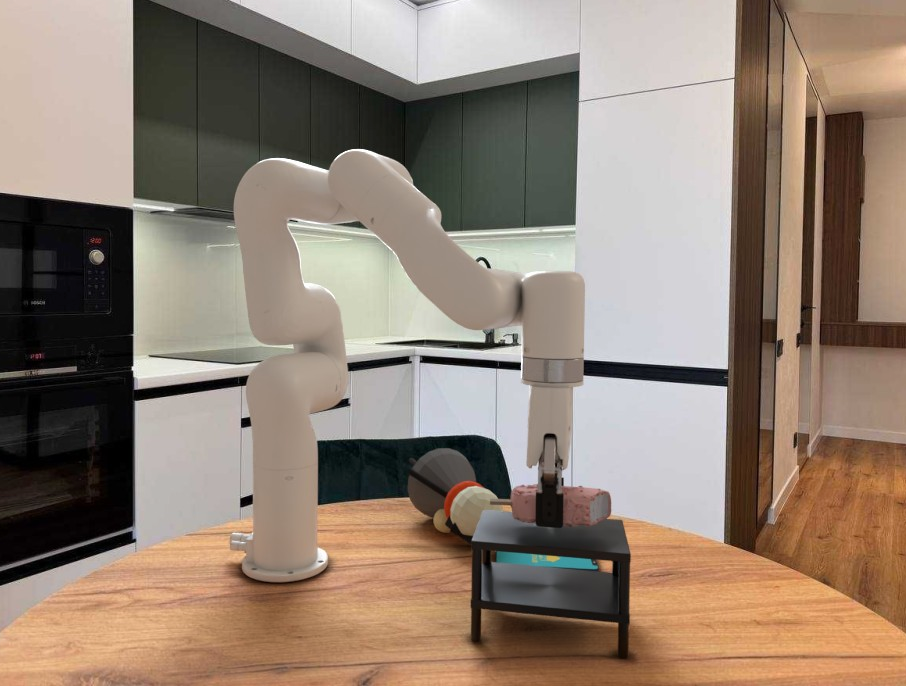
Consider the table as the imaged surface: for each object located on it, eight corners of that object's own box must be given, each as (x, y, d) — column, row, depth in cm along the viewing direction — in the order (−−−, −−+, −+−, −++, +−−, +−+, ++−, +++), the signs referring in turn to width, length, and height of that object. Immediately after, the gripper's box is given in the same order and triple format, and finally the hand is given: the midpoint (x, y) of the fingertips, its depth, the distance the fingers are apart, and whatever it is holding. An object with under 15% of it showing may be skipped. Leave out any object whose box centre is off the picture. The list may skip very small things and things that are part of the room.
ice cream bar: (491, 479, 90) (608, 483, 87) (491, 512, 90) (608, 516, 87) (488, 491, 83) (614, 496, 81) (488, 527, 83) (614, 532, 81)
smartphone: (496, 545, 110) (593, 550, 108) (496, 550, 110) (593, 555, 108) (495, 564, 103) (599, 569, 101) (495, 569, 103) (599, 575, 101)
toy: (367, 476, 132) (422, 538, 104) (401, 416, 134) (464, 462, 106) (438, 512, 138) (509, 580, 110) (470, 455, 140) (547, 507, 112)
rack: (470, 641, 82) (471, 540, 81) (482, 597, 94) (483, 509, 93) (629, 659, 78) (630, 554, 78) (620, 611, 90) (622, 519, 89)
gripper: (525, 363, 94) (523, 494, 95) (516, 379, 77) (513, 538, 78) (582, 365, 93) (579, 498, 93) (585, 381, 76) (582, 544, 76)
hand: (549, 515), depth 85 cm, fingers closed on ice cream bar, 6 cm apart
